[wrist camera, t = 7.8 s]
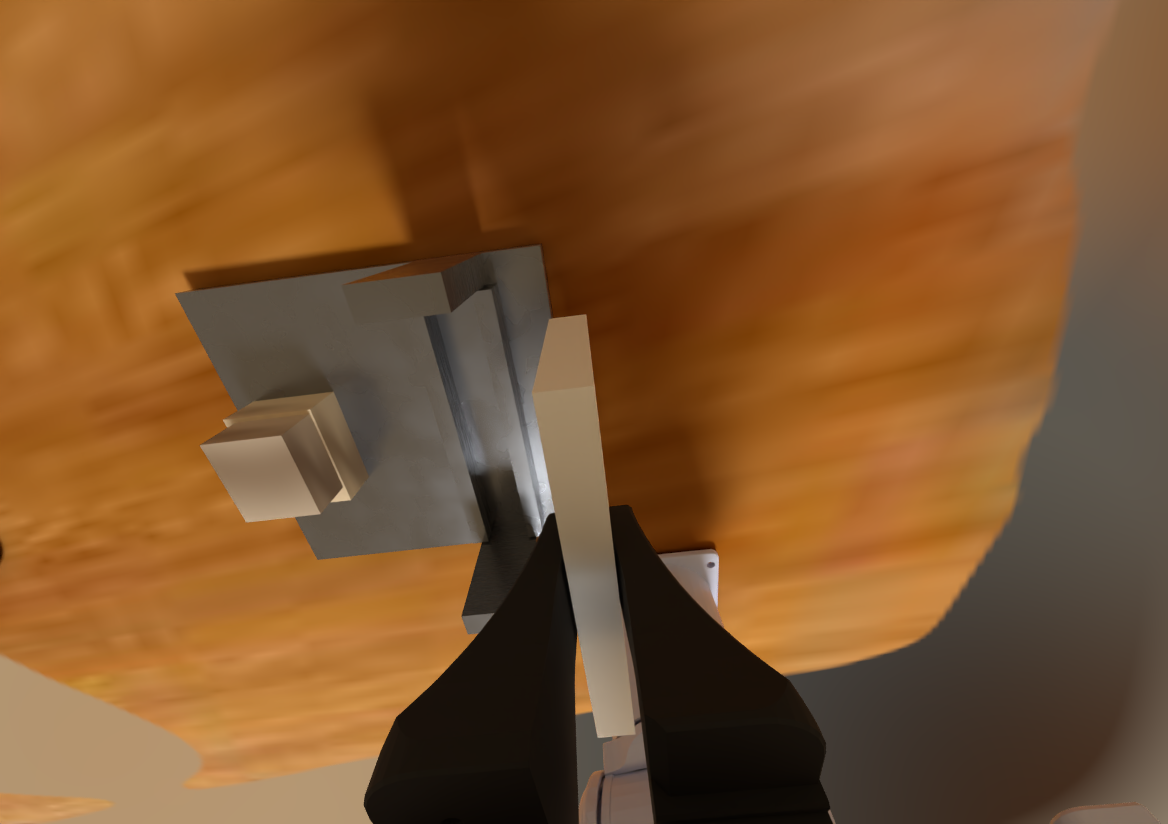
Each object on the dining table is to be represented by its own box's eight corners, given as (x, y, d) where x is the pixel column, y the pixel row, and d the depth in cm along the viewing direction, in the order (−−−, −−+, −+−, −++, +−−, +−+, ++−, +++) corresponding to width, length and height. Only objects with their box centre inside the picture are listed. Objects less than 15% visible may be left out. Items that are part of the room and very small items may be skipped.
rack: (584, 519, 25) (587, 622, 19) (326, 547, 26) (246, 656, 20) (541, 243, 18) (524, 260, 12) (193, 289, 19) (5, 328, 13)
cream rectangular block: (617, 582, 19) (635, 734, 13) (591, 584, 19) (597, 737, 13) (586, 314, 13) (593, 385, 8) (549, 318, 13) (531, 392, 8)
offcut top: (343, 487, 20) (320, 514, 18) (275, 494, 20) (246, 522, 19) (309, 413, 19) (281, 435, 17) (235, 422, 19) (199, 445, 17)
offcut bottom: (368, 476, 22) (351, 500, 21) (296, 485, 23) (272, 508, 21) (333, 391, 20) (310, 409, 18) (253, 401, 20) (223, 419, 19)
